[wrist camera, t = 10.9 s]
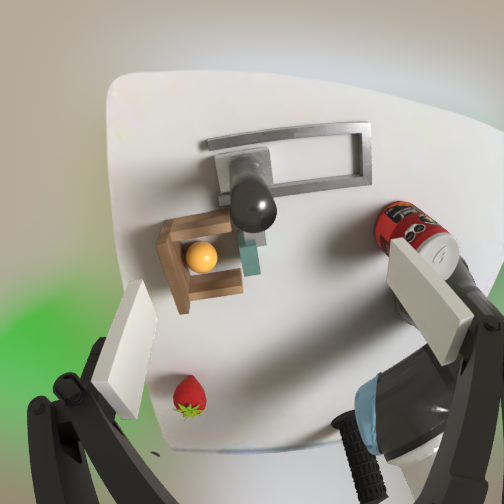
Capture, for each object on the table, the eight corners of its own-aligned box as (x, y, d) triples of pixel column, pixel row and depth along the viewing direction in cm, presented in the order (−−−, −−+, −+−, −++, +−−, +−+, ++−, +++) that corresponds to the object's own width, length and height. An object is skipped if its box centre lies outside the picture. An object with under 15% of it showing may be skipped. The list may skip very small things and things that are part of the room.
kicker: (266, 147, 34) (291, 181, 22) (279, 251, 41) (301, 323, 29) (215, 155, 34) (208, 194, 22) (234, 258, 41) (240, 334, 29)
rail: (366, 121, 33) (370, 122, 32) (367, 181, 37) (371, 184, 36) (207, 139, 33) (206, 140, 32) (219, 202, 37) (219, 206, 36)
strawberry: (178, 387, 55) (174, 430, 46) (172, 363, 51) (167, 410, 42) (208, 388, 55) (207, 431, 47) (205, 364, 52) (204, 411, 43)
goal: (229, 208, 38) (230, 231, 32) (241, 275, 43) (244, 305, 37) (165, 220, 38) (155, 244, 32) (184, 284, 43) (179, 314, 37)
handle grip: (364, 404, 65) (327, 419, 66) (395, 495, 42) (350, 511, 44) (369, 418, 70) (335, 431, 71) (396, 499, 47) (357, 513, 48)
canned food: (423, 204, 39) (469, 238, 30) (406, 251, 43) (444, 293, 34) (382, 194, 38) (426, 230, 29) (366, 246, 42) (400, 292, 32)
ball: (191, 235, 40) (218, 235, 38) (197, 261, 42) (224, 262, 40) (176, 251, 36) (206, 252, 35) (184, 278, 38) (213, 280, 37)
